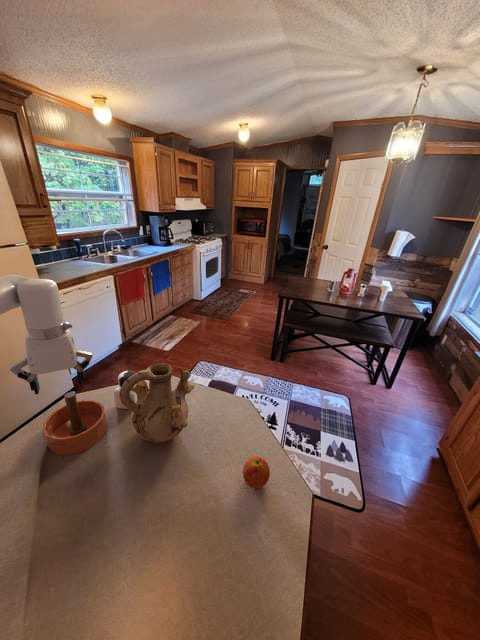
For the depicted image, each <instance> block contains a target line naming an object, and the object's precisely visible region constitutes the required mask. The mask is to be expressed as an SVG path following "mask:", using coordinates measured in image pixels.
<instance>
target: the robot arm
mask: <svg viewBox="0 0 480 640" xmlns="http://www.w3.org/2000/svg"><path fill="white" fill-rule="evenodd" d="M18 308H21V312H22V316H23V320H24V324H25V329H26V331H27V335H26V336H25V352H26V358H24V359H22V360H20V361H19V362H17V363H15V364H13V365H11V367H10V369H9V370H10V372H11V373H13V374H14V375H15V376H17V378H19V379H21V380H24V381H25V382H26V383H28V384H29V387H30V388H29V389H30V391H33V392H34V395H39V393H40V390H41V389H40V388H41V387H40V384H39V383H40V382H39V379H38V375H43V374H49V373H54V372H60V371H64V370H69V369H73V370H75V371H76V377H77V382H78V385H80V386H81V385H83V381H84V380H85V373H84V371H85V369H87V367H88V366H89V365H90V363H91V360H92V358H93V353H92V352H89V351H84V350H79V349H77V347H76V344H75V341H74V337H73V334H72V333H71V330H70V329H72V328H73V323H72V322H66V320H65V318H64V317H65V316H64V312H63V306H62V302H61V297H60V291H59V288H58V284H57V283H56V282H55V281H53V280H51V279H48V278H47V279H46V278H31V277H27V276H22V275H18V274H5V275H1V276H0V316H1V315H3V314H5V313H7V312H9V311H12V310H14V309H18ZM78 357H80V358H84V359H83V361H79V360H78ZM26 366H28V370H29V372H28V371H26V370H23V368H25V367H26Z"/></svg>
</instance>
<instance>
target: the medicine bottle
mask: <svg viewBox="0 0 480 640" xmlns="http://www.w3.org/2000/svg"><path fill="white" fill-rule="evenodd" d="M136 373H137V372H136V371H135V370H125V371H122V372H121V373H119V375H118V376H117V382H118V385H117V387H116V388H115V389H114V390H113V397H114V401H115V402H114V403H115V407H116V408H117V409H124V410H128V409H127V408H126V407H125V406H124V405H123V404H122V402H121V400H120V396H119V393H120V389H121V387H122V385H123V383H124V382H125V381H126V380H127V379H128V378H129V377H131V376H132V375H134V374H136ZM130 397H131V398H132V400H133V401H134V402H137V394H136V393H135V392H133V391H130Z"/></svg>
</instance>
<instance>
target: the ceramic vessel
mask: <svg viewBox="0 0 480 640" xmlns="http://www.w3.org/2000/svg"><path fill="white" fill-rule="evenodd" d="M173 370H174V368H173V366H171V365H170V364H169V363H163V362H162V363H153V364H151V365H149V366H147V368H146V369H142V370H139V371H137V372H136V374H134V375H132V376H131V377H129V378H128V379H127V380H126V381H125V382H124V383H123V385H122V387H121V389H120V393H119V396H120V400H121V402H122V404H123V405H124V406H125V407H126V408H127V409H126V410H128V411H130V412H131V416H130V417H131V424H132V426H133V428H134V430H135V432H136V433H137V434H138V436H139V437H141V438H142V439H143V440H145V441H147V442H152V443H154V444H155V443H156V444H165V443H169V442H170V441H171V440H172V439H174V438H176V437H177V436H178V435H179V434H180V433H181V432H182V431H183V430H184V429H186V428H187V427H188V426H189V422H188V417H189V406H188V405H189V404H188V403H187V400H186V396H187V394H190V393H191V392H192V391H193V390H194V389H195V386H194V384H191V383H189V382H188V381H189V379H190V378H191V376H192V374H191V372H190V370H184V369H182V368H181V369H180V371H179V372H180V376H179V381H178V383H177V385H176V388H175V389H172V377H173ZM147 381H148V382H149V383H148V382H147ZM130 391H133V392H135V393H136V394H137V402H134V401H133V400H132V398H131V397H130Z"/></svg>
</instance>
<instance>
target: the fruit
mask: <svg viewBox="0 0 480 640" xmlns="http://www.w3.org/2000/svg"><path fill="white" fill-rule="evenodd" d="M242 476H243V478H244V482H245V483H246V484H247V485H248V486H249V487H250V488H252V489H260V488H263V487H264V486H266V485H267V483H268V482H269V479H270V476H271V471H270V465H269V464H268V462H267V461H266V459H264V458H263V457H261V456H257V455H256V456H255V455H254V456H251V457H249V458H248V459H247V460H246V461H245V462H244V464H243V467H242Z"/></svg>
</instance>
